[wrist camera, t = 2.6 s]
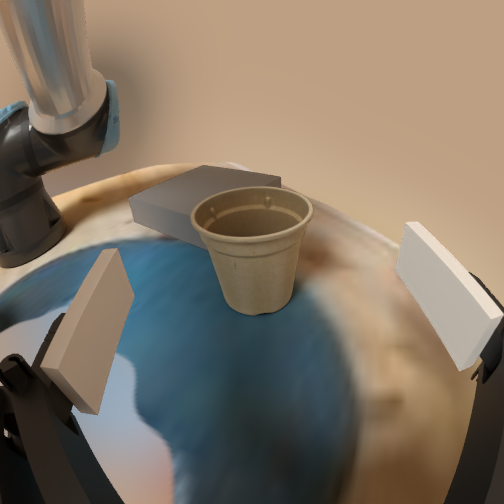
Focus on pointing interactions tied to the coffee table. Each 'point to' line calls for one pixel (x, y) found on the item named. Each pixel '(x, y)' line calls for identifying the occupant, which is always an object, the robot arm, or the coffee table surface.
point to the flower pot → (254, 243)
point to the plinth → (189, 198)
